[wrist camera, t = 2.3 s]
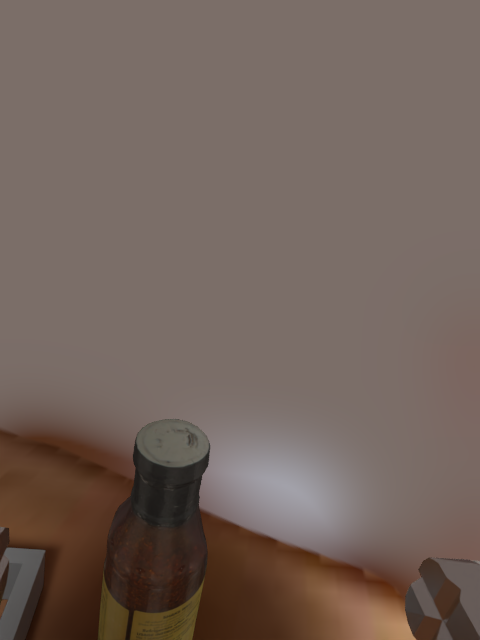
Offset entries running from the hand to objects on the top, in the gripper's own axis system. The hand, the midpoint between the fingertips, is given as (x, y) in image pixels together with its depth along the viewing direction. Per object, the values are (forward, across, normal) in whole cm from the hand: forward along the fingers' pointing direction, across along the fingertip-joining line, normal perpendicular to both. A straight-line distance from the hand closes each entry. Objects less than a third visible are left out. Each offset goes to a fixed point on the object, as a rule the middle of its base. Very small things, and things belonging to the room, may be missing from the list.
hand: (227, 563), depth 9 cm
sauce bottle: (+13, 0, +28) cm, 31 cm away
